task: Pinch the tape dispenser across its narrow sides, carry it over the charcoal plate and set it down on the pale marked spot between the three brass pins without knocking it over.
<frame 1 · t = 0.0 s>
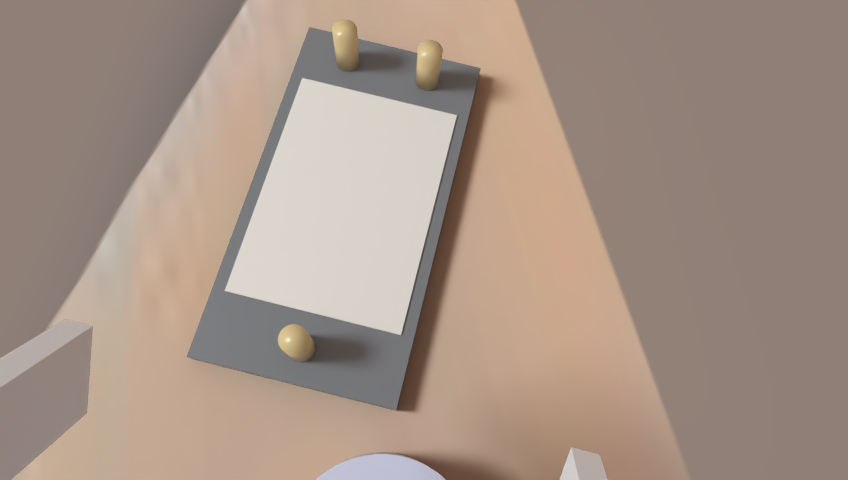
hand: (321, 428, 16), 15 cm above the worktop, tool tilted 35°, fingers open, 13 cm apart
pin plate: (349, 204, 34), on the worktop
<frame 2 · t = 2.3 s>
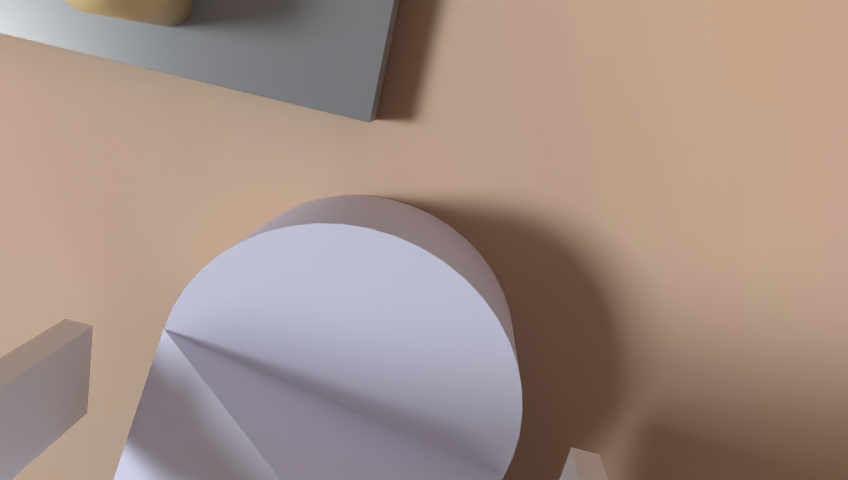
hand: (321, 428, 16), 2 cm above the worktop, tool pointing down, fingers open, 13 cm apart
tape dispenser: (338, 394, 18), on the worktop
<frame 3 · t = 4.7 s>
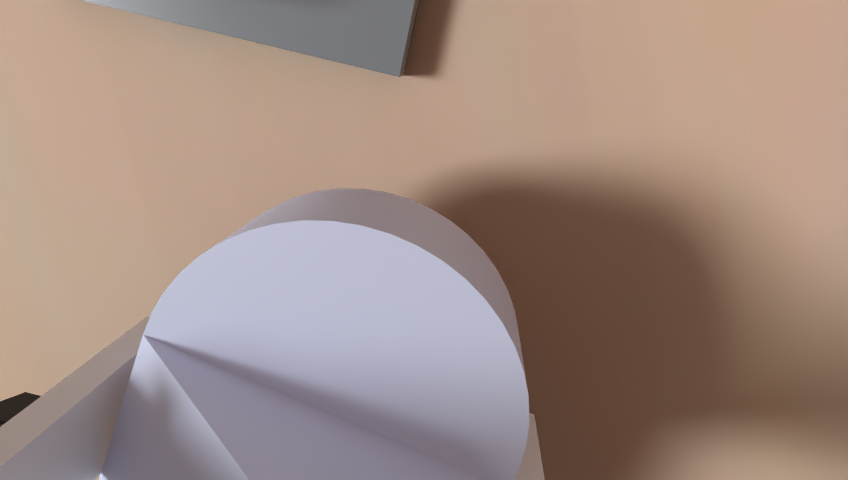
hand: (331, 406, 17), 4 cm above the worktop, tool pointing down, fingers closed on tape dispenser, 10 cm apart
tape dispenser: (334, 398, 17), point 4 cm above the worktop, touching gripper
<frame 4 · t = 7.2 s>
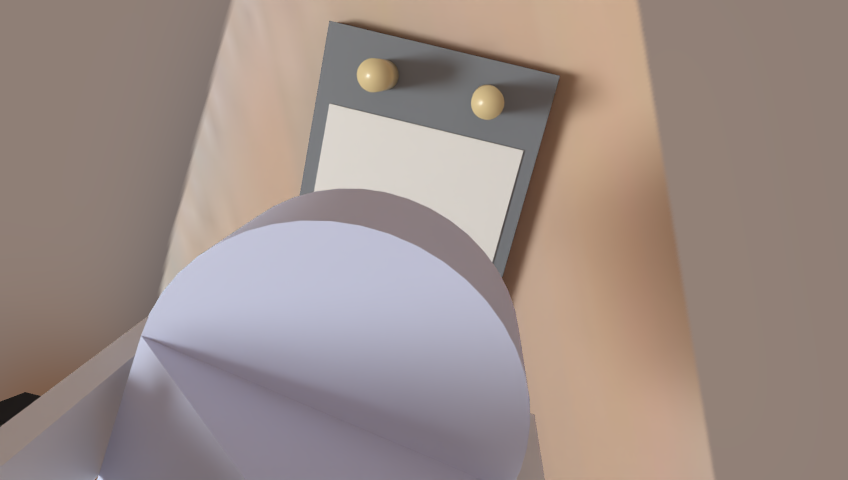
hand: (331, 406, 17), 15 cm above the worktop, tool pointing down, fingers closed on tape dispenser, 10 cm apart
tape dispenser: (333, 400, 17), point 15 cm above the worktop, touching gripper
pin plate: (399, 251, 31), on the worktop
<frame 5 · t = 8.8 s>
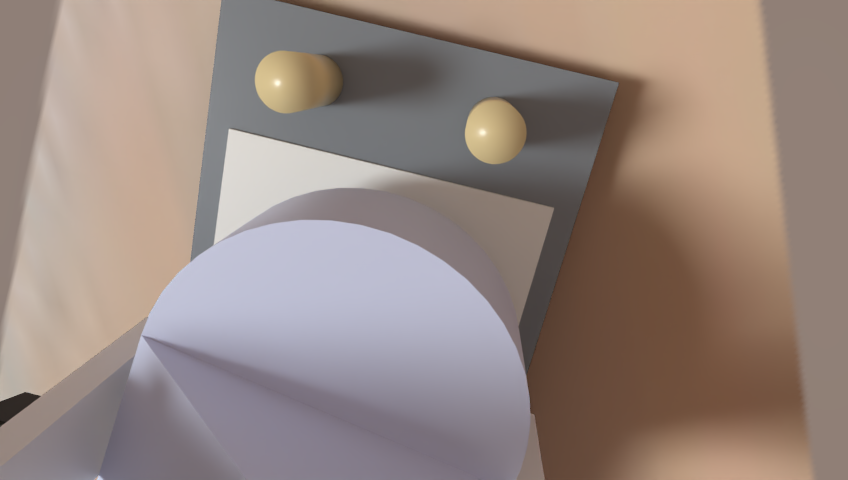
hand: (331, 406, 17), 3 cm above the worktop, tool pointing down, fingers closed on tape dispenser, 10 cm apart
tape dispenser: (334, 399, 17), point 3 cm above the worktop, touching gripper
pin plate: (353, 358, 20), on the worktop
when the fingers open (2 cm above the worktop, at t = 10.0 s): tape dispenser stays where it is, resting on pin plate.
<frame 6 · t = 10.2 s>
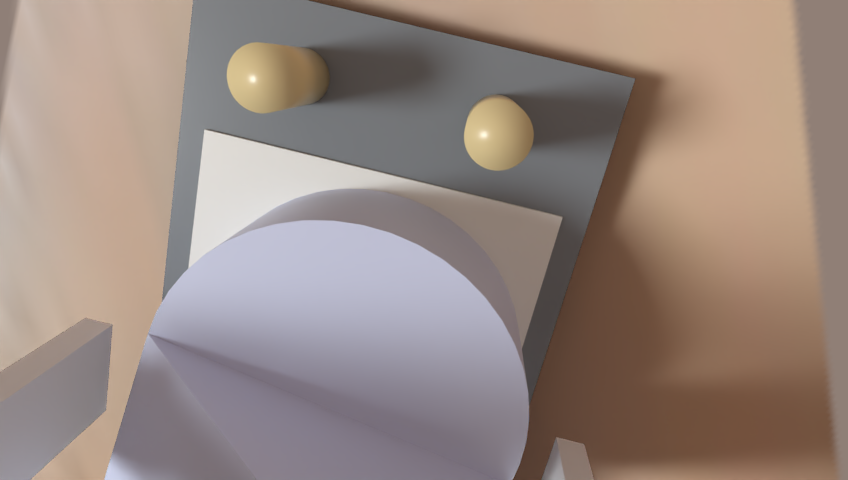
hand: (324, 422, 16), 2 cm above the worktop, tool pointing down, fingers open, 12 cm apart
tape dispenser: (336, 396, 17), point 1 cm above the worktop, touching pin plate
pin plate: (343, 377, 18), on the worktop
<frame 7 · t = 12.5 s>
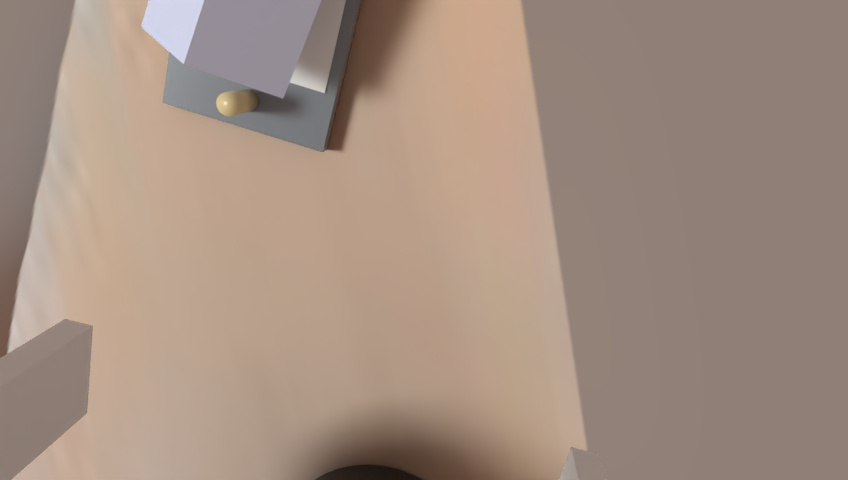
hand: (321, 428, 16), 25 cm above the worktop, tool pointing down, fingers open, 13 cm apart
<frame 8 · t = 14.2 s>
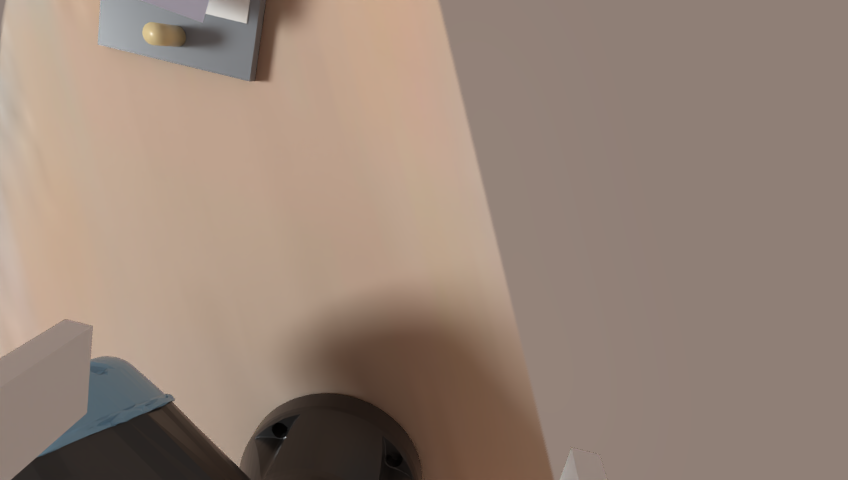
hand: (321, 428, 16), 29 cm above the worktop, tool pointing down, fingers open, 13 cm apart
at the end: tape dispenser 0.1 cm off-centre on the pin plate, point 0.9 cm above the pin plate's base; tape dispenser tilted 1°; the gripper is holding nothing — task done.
